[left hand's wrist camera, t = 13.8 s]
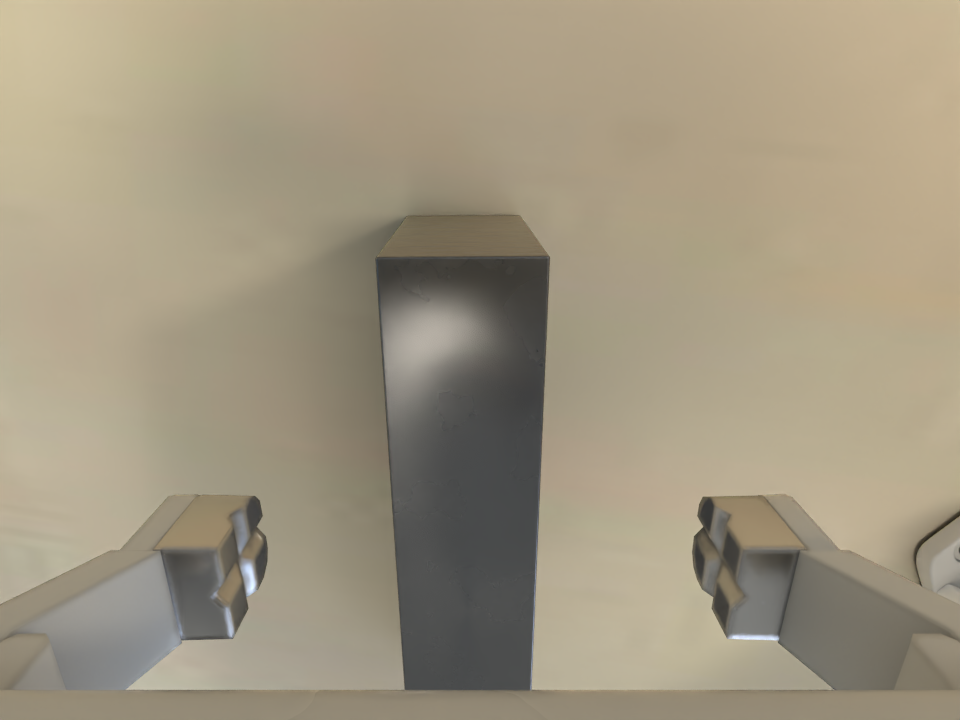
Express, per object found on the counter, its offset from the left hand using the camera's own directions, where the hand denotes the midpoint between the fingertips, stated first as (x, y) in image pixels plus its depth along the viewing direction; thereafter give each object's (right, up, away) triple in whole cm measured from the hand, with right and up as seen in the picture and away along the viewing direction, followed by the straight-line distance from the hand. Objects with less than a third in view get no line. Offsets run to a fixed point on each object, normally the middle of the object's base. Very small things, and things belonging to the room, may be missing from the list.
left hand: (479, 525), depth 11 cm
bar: (-1, -3, +20) cm, 20 cm away
